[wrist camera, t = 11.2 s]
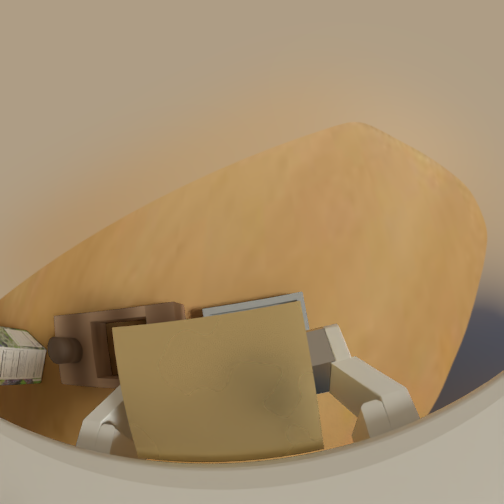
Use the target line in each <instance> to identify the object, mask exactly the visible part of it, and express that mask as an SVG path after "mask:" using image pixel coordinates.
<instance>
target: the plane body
mask: <svg viewBox="0 0 504 504" xmlns="http://www.w3.org/2000/svg"><path fill="white" fill-rule="evenodd" d="M145 319H146V324H153V323H162V322H170V321H178V320H186V318H185V310H184V305H183V304H179V303H176V302H168V303H161V304H154V305H146V306H139V307H131V308H123V309H115V310H106V311H98V312H89V313H79V314H69V315H59V316H54V324H55V337H52V338H51V339H50V340H49V342H48V354H49V357H50V359H51V360H52V361H53V362H54V363H56V364H59V370H60V376H61V382H62V384H68V385H77V386H88V387H101V388H117V387H118V386H119V385H120V380H119V375H112V370H111V364H110V357H109V350H108V341H107V332H106V323H116V322H126V321H136V320H145Z"/></svg>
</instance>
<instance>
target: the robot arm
mask: <svg viewBox="0 0 504 504" xmlns="http://www.w3.org/2000/svg"><path fill="white" fill-rule="evenodd" d="M306 335H307V340H308V346H309V352H310V357H311V363H312V370H313V376H314V382H315V388H316V394H320V393H325V392H329V391H330V393H331V394H332V395H333V396H334V397H335V398H336V399H337V400H339V401H340V402H341V403H342V404H343V405H344V406H345V407H346V408H348V409H349V410H350V411H351V412H352V413H353V414H355V415H356V416H357V417H358V419H357V422H356V425H355V428H354V430H353V433H352V438H353V442H354V443H352V444H348V445H344V446H341V447H337V448H333V449H329V450H324V451H320V452H315V453H310V454H305V455H300V456H294V457H287V458H281V459H273V460H265V461H255V462H242V463H219V464H196V463H173V462H161V461H151V460H146V458H139V457H138V454H137V451H136V447H135V444H134V441H133V437H132V433H131V430H130V426H129V422H128V418H127V414H126V410H125V405H124V401H123V396H122V391H121V386H120V385H119V386H118V387H117V388H116V389H115V390H114V391H113V392H112V393H111V394H110V395H109V396H108V397H107V398H106V399H105V400H104V401H103V402H102V403H101V404H100V405H98V406H97V407H96V408H95V409H94V410H93V411H92V412H91V413H90V414H89V415H88V416H87V417H86V418H85V419H84V420H83V423H82V427H81V430H80V433H79V436H78V440H77V443H76V446H74V445H70V444H67V443H63V442H60V441H57V440H54V439H51V438H48V437H45V436H43V435H40V434H37V433H35V432H32V431H30V430H27V429H25V428H22V427H20V426H18V425H15V424H13V423H11V422H9V421H7V420H5V419H3V418H0V504H504V371H502V372H501V373H500V374H498V375H497V376H495V377H494V378H492V379H491V380H489V381H488V382H487V383H485V384H483V385H482V386H480V387H479V388H477V389H475V390H474V391H472V392H470V393H469V394H467V395H465V396H464V397H462V398H460V399H459V400H457V401H455V402H453V403H451V404H449V405H447V406H445V407H443V408H442V409H439V410H437V411H435V412H433V413H432V414H429V415H427V416H425V417H423V418H421V419H420V417H419V415H418V413H417V410H416V408H415V406H414V404H413V401H412V399H411V397H410V395H409V393H408V390H407V388H406V387H404V386H402V385H401V384H399V383H397V382H396V381H394V380H393V379H391V378H389V377H388V376H386V375H384V374H383V373H381V372H380V371H378V370H376V369H375V368H373V367H372V366H370V365H368V364H367V363H365V362H364V361H362V360H360V359H359V358H357V357H356V356H355V357H351V355H350V352H349V350H348V347H347V345H346V342H345V340H344V338H343V335H342V333H341V330H340V328H339V326H338V325H337V324H332V325H328V326H324V327H319V328H315V329H310V330H306Z"/></svg>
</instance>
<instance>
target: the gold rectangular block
mask: <svg viewBox="0 0 504 504" xmlns="http://www.w3.org/2000/svg"><path fill="white" fill-rule="evenodd" d="M112 332H113V341H114V348H115V356H116V362H117V369H118V375H119V380H120V386H121V391H122V396H123V401H124V405H125V410H126V414H127V418H128V422H129V426H130V430H131V433H132V437H133V441H134V444H135V447H136V451H137V454H138V457H139V458H146V459H155V460H167V461H184V462H229V461H246V460H257V459H267V458H275V457H282V456H289V455H295V454H300V453H306V452H311V451H316V450H320V449H324V445H323V437H322V430H321V422H320V415H319V408H318V401H317V395H316V388H315V382H314V376H313V370H312V363H311V357H310V352H309V346H308V340H307V335H306V329H305V323H304V318H303V313H302V307H301V302H300V301H295V302H290V303H285V304H280V305H274V306H269V307H263V308H257V309H252V310H246V311H240V312H234V313H227V314H221V315H214V316H207V317H200V318H193V319H186V320H178V321H170V322H162V323H153V324H144V325H134V326H123V327H112Z"/></svg>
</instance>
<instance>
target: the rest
mask: <svg viewBox="0 0 504 504" xmlns="http://www.w3.org/2000/svg"><path fill="white" fill-rule="evenodd" d="M295 301H300V302H301V307H302V313H303V318H304V323H305V329H306V330H309V325H308V319H307V314H306V308H305V303H304V298H303V293H302V292H298V293H293V294H288V295H282V296H277V297H272V298H266V299H260V300H255V301H249V302H243V303H237V304H231V305H224V306H218V307H212V308H205V309H202V310H203V317H207V316H214V315H221V314H227V313H234V312H240V311H246V310H252V309H257V308H263V307H269V306H274V305H280V304H285V303H290V302H295Z"/></svg>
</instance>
